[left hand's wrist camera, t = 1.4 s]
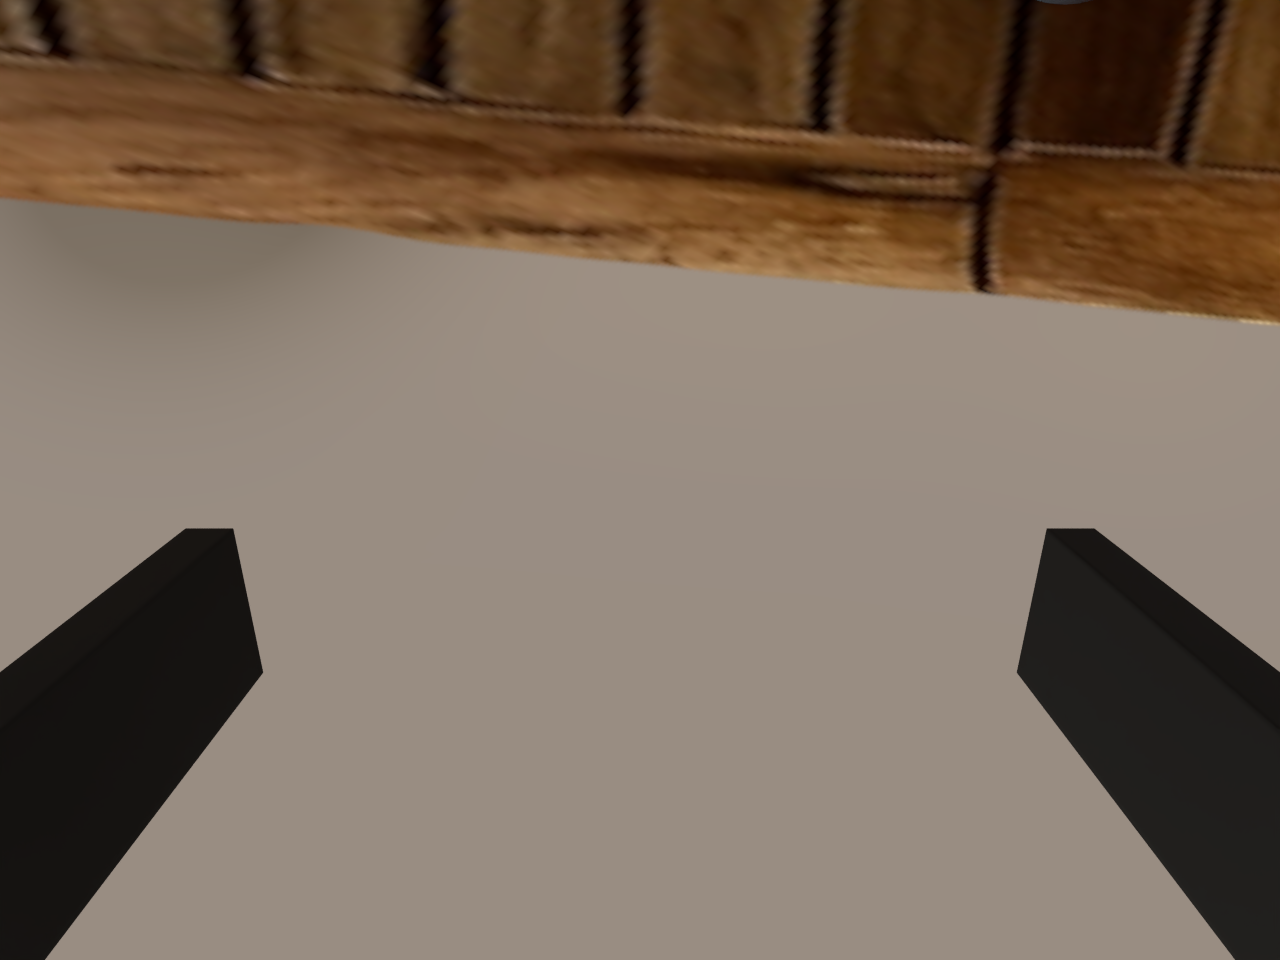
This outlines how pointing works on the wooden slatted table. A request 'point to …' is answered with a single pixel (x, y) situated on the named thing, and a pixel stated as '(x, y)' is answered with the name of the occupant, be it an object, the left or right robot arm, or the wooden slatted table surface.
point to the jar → (1064, 1)
